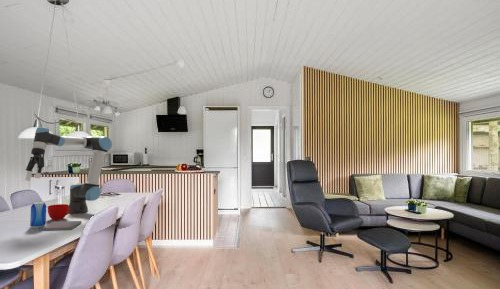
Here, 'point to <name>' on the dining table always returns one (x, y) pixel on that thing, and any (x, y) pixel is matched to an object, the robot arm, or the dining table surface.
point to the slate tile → (61, 225)
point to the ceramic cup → (58, 211)
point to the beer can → (38, 215)
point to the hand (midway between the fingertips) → (32, 179)
